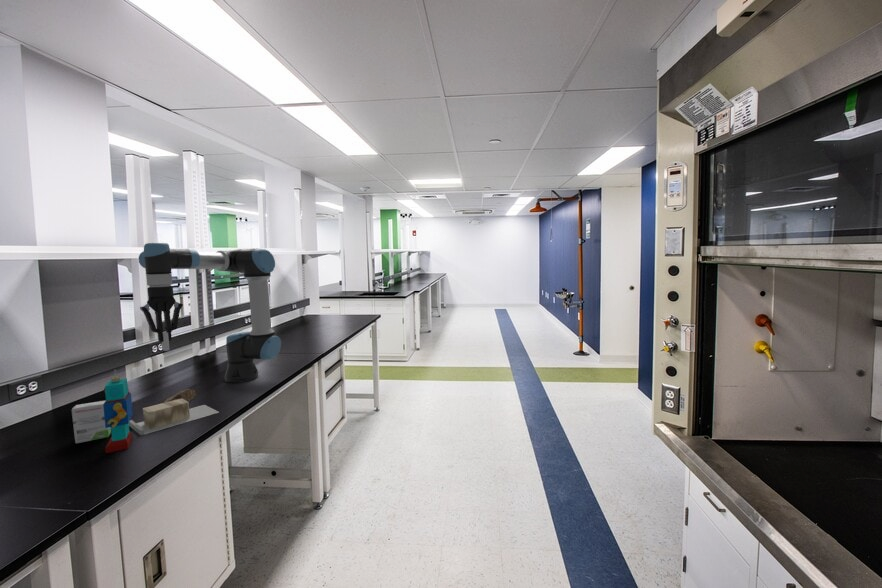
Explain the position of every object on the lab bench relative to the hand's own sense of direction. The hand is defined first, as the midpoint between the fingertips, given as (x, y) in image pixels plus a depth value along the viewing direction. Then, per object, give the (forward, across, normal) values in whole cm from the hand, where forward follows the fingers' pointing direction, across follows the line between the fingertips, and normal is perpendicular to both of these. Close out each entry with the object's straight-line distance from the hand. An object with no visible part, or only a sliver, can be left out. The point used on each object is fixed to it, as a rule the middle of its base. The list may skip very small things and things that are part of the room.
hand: (165, 349), depth 144 cm
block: (+23, -4, +1) cm, 24 cm away
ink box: (+27, +22, -4) cm, 35 cm away
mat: (+27, -1, +1) cm, 27 cm away
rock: (+27, -8, -20) cm, 34 cm away
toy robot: (+27, +18, +11) cm, 34 cm away
